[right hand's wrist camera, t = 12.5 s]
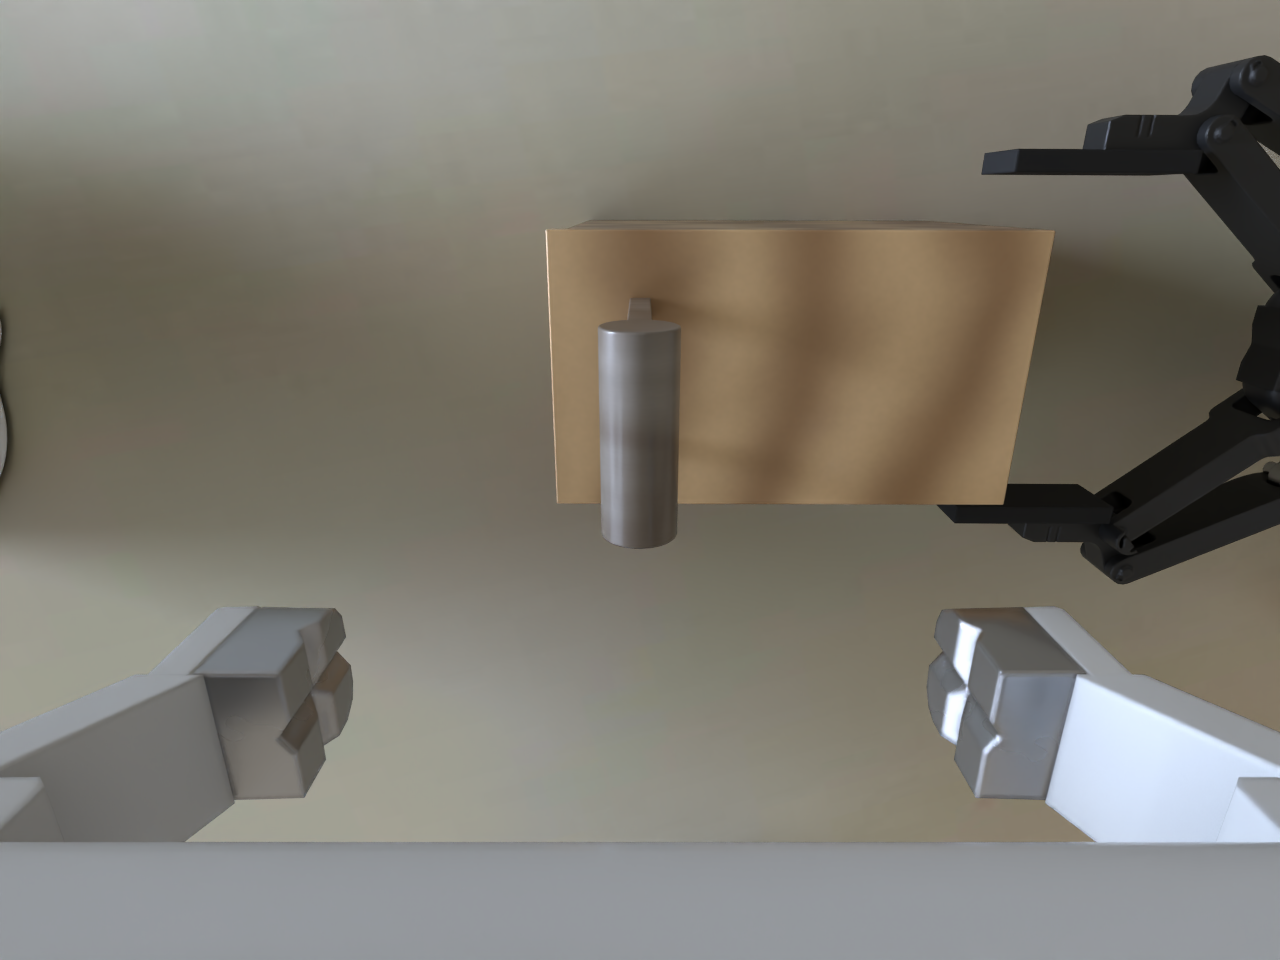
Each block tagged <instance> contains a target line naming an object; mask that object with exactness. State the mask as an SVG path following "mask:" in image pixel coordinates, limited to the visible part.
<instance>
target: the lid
mask: <svg viewBox="0 0 1280 960" xmlns="http://www.w3.org/2000/svg"><path fill="white" fill-rule="evenodd" d="M1054 236H1055V231H1054V230H996V229H547V230H546V251H547V275H548V299H549V324H550V348H551V372H552V397H553V421H554V445H555V470H556V494H557V503H576V504H601V533H602V535H603V537H604V538H605V539H606V540H607V541H608V542H610V543H612V544H614V545H617V546H621V547H626V548H634V549H644V548H653V547H658V546H662V545H664V544H667V543H669V542H670V541H672V540H673V539H674V538H675V537H676V534H677V511H678V504H943V505H1003V504H1004V499H1005V493H1006V488H1007V483H1008V478H1009V472H1010V467H1011V462H1012V457H1013V451H1014V446H1015V441H1016V436H1017V430H1018V425H1019V420H1020V415H1021V409H1022V404H1023V399H1024V394H1025V388H1026V383H1027V378H1028V373H1029V367H1030V362H1031V357H1032V352H1033V346H1034V341H1035V336H1036V331H1037V325H1038V320H1039V315H1040V310H1041V304H1042V299H1043V294H1044V289H1045V283H1046V278H1047V273H1048V268H1049V262H1050V257H1051V252H1052V247H1053V241H1054Z"/></svg>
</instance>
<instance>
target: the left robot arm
mask: <svg viewBox="0 0 1280 960" xmlns="http://www.w3.org/2000/svg"><path fill="white" fill-rule="evenodd" d="M1191 92H1192V96H1193V97H1192V99H1191V101H1190V102H1189V104H1188V106H1187V107H1186V108H1185V109H1184V110H1183V111H1182V112H1181V113H1180V114H1179V115H1122V116H1116V117H1110V118H1105V119H1101V120H1098V121H1096V122H1093V123H1091V124H1088V126H1087V131H1086V136H1085V141H1084V146H1083V149H1014V150H1007V151H999V152H992V153H985V155H984V162H983V168H982V175H1168V174H1184V175H1185V177H1186V178H1187V179H1188V180H1189V181H1190V183H1191V184H1192V185H1193V186H1194V187H1195V189H1196V190H1197V191H1198V192H1199V193H1200V195H1201V196H1202V197H1203V198H1204V199H1205V200H1206V202H1207V203H1208V204H1209V205H1210V206H1211V208H1212V209H1213V210H1214V211H1215V212H1216V214H1217V215H1218V216H1219V217H1220V218H1221V220H1222V221H1223V222H1224V223H1225V224H1226V225H1227V227H1228V228H1229V229H1230V230H1231V231H1232V233H1233V234H1234V235H1235V236H1236V237H1237V239H1238V240H1239V241H1240V242H1241V243H1242V245H1243V246H1244V247H1245V248H1246V249H1247V250H1248V252H1249V253H1250V254H1251V255H1252V256H1253V258H1254V259H1255V261H1254V262H1253V263H1252V266H1253V268H1254V269H1255V270H1256V272H1257V273H1258V274H1259V275H1260V276H1261V277H1262V279H1263V280H1264V281H1265V282H1266V283H1267V285H1268V286H1269V287H1270V288H1271V289H1272V290H1273V292H1274V294H1273V295H1272V296H1271V298H1270V299H1269V300H1268V302H1267V303H1266V305H1258V307H1257V310H1256V314H1255V317H1254V320H1253V324H1252V344H1251V346H1250V347H1249V349H1248V351H1247V353H1246V355H1245V356H1244V358H1243V360H1242V362H1241V364H1240V368H1239V371H1238V375H1237V378H1236V380H1238V381H1241V382H1243V389H1241V390H1240V391H1238V392H1236V393H1235V394H1233V395H1232V396H1230V397H1229V398H1227V399H1226V400H1224V401H1223V402H1221V403H1220V404H1218V405H1217V406H1215V407H1214V408H1213V409H1211V411H1210V412H1209V419H1208V420H1207V421H1206V422H1204V423H1202V424H1201V425H1199V426H1198V427H1196V428H1195V429H1193V430H1192V431H1190V432H1189V433H1187V434H1186V435H1184V436H1183V437H1181V438H1180V439H1178V440H1177V441H1175V442H1174V443H1172V444H1171V445H1169V446H1168V447H1166V448H1164V449H1163V450H1161V451H1160V452H1158V453H1157V454H1155V455H1154V456H1152V457H1151V458H1149V459H1148V460H1146V461H1145V462H1143V463H1142V464H1140V465H1139V466H1137V467H1136V468H1134V469H1133V470H1131V471H1130V472H1128V473H1126V474H1125V475H1123V476H1122V477H1120V478H1119V479H1117V480H1116V481H1114V482H1113V483H1111V484H1110V485H1108V486H1107V487H1105V488H1104V489H1102V490H1101V491H1099V492H1098V493H1096V494H1095V495H1094V494H1092V493H1090V492H1089V491H1087V490H1086V489H1084V488H1083V487H1081V486H1080V485H1078V484H1007V488H1006V493H1005V499H1004V504H1003V505H943V504H936V505H937V506H938V507H939V508H940V509H941V510H942V511H943V512H944V513H945V514H946V515H947V516H948V517H949V518H950V519H951V520H952V521H953V522H954V523H1003V524H1008V525H1009V526H1010V527H1012V528H1013V529H1014V530H1015V531H1016V532H1017V533H1018V534H1020V535H1021V536H1022V537H1023V538H1025V539H1028V540H1030V541H1033V542H1046V541H1047V542H1055V541H1057V542H1083V544H1082V546H1081V548H1080V550H1081V554H1082V556H1083V557H1084V558H1085V559H1087V560H1088V561H1089V562H1090V563H1092V564H1093V565H1094V566H1095V567H1096V568H1098V569H1099V570H1100V571H1101V572H1103V573H1104V574H1105V575H1106V576H1108V577H1109V578H1110V579H1111V580H1113V581H1114V582H1116V583H1117V584H1127V583H1130V582H1133V581H1135V580H1138V579H1140V578H1143V577H1146V576H1148V575H1151V574H1153V573H1156V572H1158V571H1161V570H1163V569H1166V568H1169V567H1171V566H1174V565H1176V564H1179V563H1181V562H1184V561H1186V560H1189V559H1192V558H1194V557H1197V556H1199V555H1202V554H1204V553H1207V552H1209V551H1212V550H1215V549H1217V548H1220V547H1222V546H1225V545H1227V544H1230V543H1232V542H1235V541H1238V540H1240V539H1243V538H1245V537H1248V536H1250V535H1253V534H1255V533H1258V532H1261V531H1263V530H1266V529H1268V528H1271V527H1273V526H1276V525H1278V524H1280V462H1278V463H1275V462H1273V461H1272V462H1268V463H1266V464H1265V465H1264V467H1263V472H1261V473H1254V474H1250V475H1246V476H1242V477H1239V478H1236V479H1233V480H1231V481H1228V480H1229V479H1231V478H1232V477H1234V476H1235V475H1237V474H1239V473H1240V472H1242V471H1243V470H1245V469H1246V468H1248V467H1250V466H1251V465H1253V464H1254V463H1256V462H1257V461H1259V460H1261V459H1263V458H1265V457H1270V456H1280V169H1279V168H1278V167H1277V166H1276V164H1275V163H1274V162H1273V161H1272V159H1271V158H1270V157H1269V156H1268V154H1267V153H1266V152H1265V151H1264V149H1263V148H1262V147H1261V146H1260V144H1259V143H1258V142H1260V143H1261V144H1263V145H1264V146H1266V147H1267V148H1269V149H1270V150H1272V151H1274V152H1275V153H1277V154H1278V155H1280V63H1279V62H1277V61H1276V60H1274V59H1273V58H1271V57H1269V56H1266V55H1263V56H1257V57H1252V58H1248V59H1244V60H1240V61H1235V62H1231V63H1227V64H1222V65H1218V66H1214V67H1209V68H1206V69H1204V70H1203V71H1201V72H1200V73H1199V74H1198V75H1197V76H1196V77H1195V79H1194V81H1193V83H1192V89H1191ZM1257 141H1258V142H1257ZM1261 413H1263V414H1264V415H1266V416H1267V417H1268V418H1269V419H1270V420H1266V419H1263V418H1260V417H1257V416H1258V415H1259V414H1261ZM1226 481H1228V482H1226ZM1224 482H1226V483H1224Z"/></svg>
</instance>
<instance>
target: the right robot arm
mask: <svg viewBox="0 0 1280 960" xmlns="http://www.w3.org/2000/svg"><path fill="white" fill-rule="evenodd" d="M1 335H2V328H1V321H0V344H1ZM6 452H7V425H6V418H5V413H4V408H3V404H2V400H1V396H0V476H1V473H2V470H3V467H4V463H5V459H6ZM345 638H346V634H345V629H344V625H343V620H342V616H341V614H340V613H339V612H338V611H337V610H336V609H335V608H289V607H262V608H261V607H258V606H251V607H224V608H218V609H216V610H215V611H214V612H213V613H212V614H211V615H210V616H209V617H208V618H207V619H206V620H205V621H204V622H203V623H201V624H200V625H199V626H198V627H197V628H196V629H195V630H194V631H193V632H192V633H191V634H190V635H189V636H188V637H187V638H186V639H185V640H184V641H183V642H181V643H180V644H179V645H178V646H177V647H176V648H175V649H174V650H173V651H172V652H171V653H170V654H169V655H168V656H167V657H166V658H165V659H164V660H163V661H162V662H160V663H159V664H158V665H157V666H156V667H155V668H154V669H153V670H152V671H151V672H150V673H149V674H148V675H133V676H131V677H129V678H126V679H124V680H121V681H119V682H117V683H114V684H112V685H110V686H107V687H105V688H103V689H100V690H98V691H96V692H93V693H91V694H89V695H86V696H84V697H82V698H79V699H77V700H75V701H72V702H70V703H67V704H65V705H63V706H60V707H58V708H56V709H53V710H51V711H49V712H46V713H44V714H42V715H39V716H37V717H35V718H32V719H30V720H28V721H25V722H23V723H21V724H18V725H16V726H13V727H11V728H9V729H6V730H4V731H2V732H0V960H1280V732H1278V731H1276V730H1273V729H1271V728H1269V727H1266V726H1264V725H1262V724H1259V723H1257V722H1254V721H1252V720H1250V719H1247V718H1245V717H1243V716H1240V715H1238V714H1236V713H1233V712H1231V711H1229V710H1226V709H1224V708H1222V707H1219V706H1217V705H1215V704H1212V703H1210V702H1208V701H1205V700H1203V699H1201V698H1198V697H1196V696H1194V695H1191V694H1189V693H1187V692H1184V691H1182V690H1180V689H1177V688H1175V687H1173V686H1170V685H1168V684H1166V683H1163V682H1161V681H1158V680H1156V679H1154V678H1151V677H1149V676H1147V675H1132V674H1131V673H1130V672H1129V671H1128V670H1127V669H1126V668H1125V667H1124V666H1123V665H1122V664H1121V663H1120V662H1119V661H1118V660H1116V659H1115V658H1114V657H1113V656H1112V655H1111V654H1110V653H1109V652H1108V651H1107V650H1106V649H1105V648H1104V647H1103V646H1102V645H1101V644H1100V643H1099V642H1098V641H1097V640H1096V639H1094V638H1093V637H1092V636H1091V635H1090V634H1089V633H1088V632H1087V631H1086V630H1085V629H1084V628H1083V627H1082V626H1081V625H1080V624H1079V623H1078V622H1077V621H1076V620H1075V619H1073V618H1072V617H1071V616H1070V615H1069V614H1068V613H1067V612H1066V611H1065V610H1064V609H1061V608H1058V607H1055V606H1045V607H1011V608H971V609H946V610H942V611H941V613H940V615H939V617H938V619H937V623H936V628H935V634H934V638H935V639H936V641H937V643H938V644H939V646H940V647H941V649H942V650H943V652H942V653H941V654H940V655H939V656H938V657H937V658H936V659H935V660H934V661H933V662H932V663H931V664H930V665H929V672H928V680H927V695H928V706H929V710H930V713H931V716H932V720H933V722H934V724H935V726H936V728H937V730H938V732H939V734H940V735H941V736H942V737H944V738H945V739H947V740H949V741H950V742H952V743H953V744H955V745H956V751H955V757H954V760H955V762H956V764H957V766H958V767H959V769H960V771H961V773H962V774H963V776H964V778H965V780H966V781H967V783H968V785H969V787H970V788H971V790H972V792H973V793H974V795H975V797H976V798H998V799H1034V800H1046V802H1045V803H1046V804H1047V805H1049V806H1050V807H1051V808H1053V809H1054V810H1055V811H1056V812H1058V813H1059V814H1060V815H1062V816H1063V817H1064V818H1066V819H1067V820H1068V821H1069V822H1071V823H1072V824H1073V825H1075V826H1076V827H1077V828H1079V829H1080V830H1081V831H1082V832H1084V833H1085V834H1086V835H1088V836H1089V837H1090V838H1092V839H1093V840H1094V841H1095V842H185V841H186V840H187V839H189V838H190V837H191V836H193V835H194V834H195V833H196V832H198V831H199V830H200V829H202V828H203V827H204V826H206V825H207V824H208V823H210V822H211V821H212V820H213V819H215V818H216V817H217V816H219V815H220V814H221V813H223V812H224V811H225V810H226V809H228V808H229V807H230V806H232V805H233V804H234V800H245V799H281V798H304V797H305V795H306V794H307V792H308V790H309V788H310V787H311V785H312V783H313V781H314V780H315V778H316V776H317V774H318V773H319V771H320V769H321V767H322V766H323V764H324V762H325V760H326V757H325V751H324V745H325V744H327V743H328V742H330V741H332V740H333V739H335V738H336V737H338V736H339V735H340V734H341V732H342V730H343V728H344V726H345V724H346V722H347V720H348V717H349V712H350V708H351V704H352V700H353V678H352V671H351V665H350V664H349V663H348V662H347V661H346V660H345V659H344V658H343V657H342V656H341V655H340V654H339V653H338V652H337V650H338V649H339V647H340V646H341V644H342V643H343V641H344V640H345Z"/></svg>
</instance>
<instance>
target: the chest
mask: <svg viewBox="0 0 1280 960" xmlns="http://www.w3.org/2000/svg"><path fill="white" fill-rule="evenodd" d="M568 229H996V230H1039V229H1027V228H1014V227H1000V226H987V225H974V224H960V223H947V222H934V221H724V220H589V221H586V222H583V223H581V224H578V225H576V226H573V227H570V228H568Z"/></svg>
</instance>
